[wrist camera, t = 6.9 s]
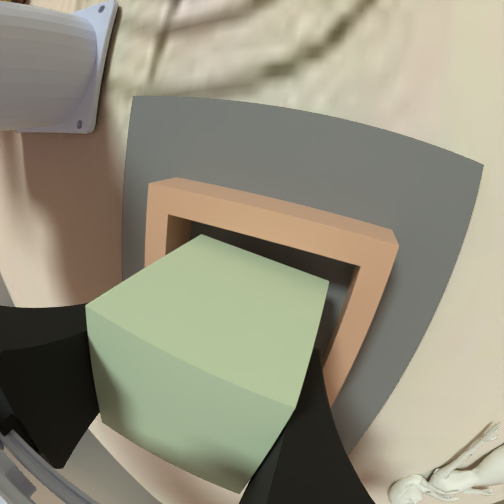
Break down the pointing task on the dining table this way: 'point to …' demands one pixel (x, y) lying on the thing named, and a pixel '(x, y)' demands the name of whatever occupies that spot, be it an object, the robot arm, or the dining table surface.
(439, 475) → the woman figurine
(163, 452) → the sage green cube
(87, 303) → the robot arm
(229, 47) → the dining table surface
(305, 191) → the housing
